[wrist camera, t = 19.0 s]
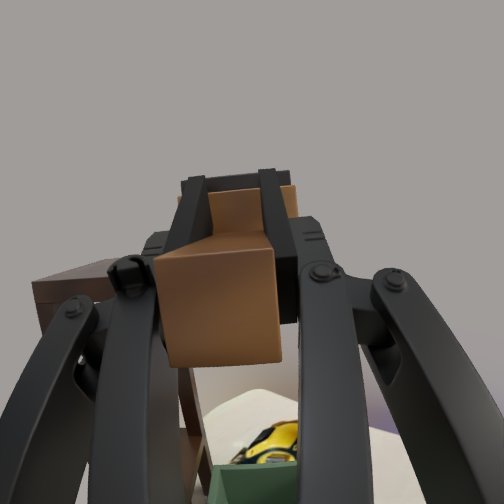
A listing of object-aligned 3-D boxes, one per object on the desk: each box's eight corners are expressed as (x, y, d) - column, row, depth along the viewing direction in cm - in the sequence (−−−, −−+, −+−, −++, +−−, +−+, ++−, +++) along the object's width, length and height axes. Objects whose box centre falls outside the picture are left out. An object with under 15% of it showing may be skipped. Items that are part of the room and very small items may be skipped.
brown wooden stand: (139, 549, 21) (31, 281, 18) (161, 484, 33) (104, 259, 30) (208, 558, 21) (126, 275, 17) (218, 487, 32) (176, 252, 29)
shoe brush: (97, 367, 6) (70, 135, 6) (206, 264, 23) (199, 191, 23) (365, 352, 6) (347, 98, 6) (289, 257, 23) (283, 183, 23)
